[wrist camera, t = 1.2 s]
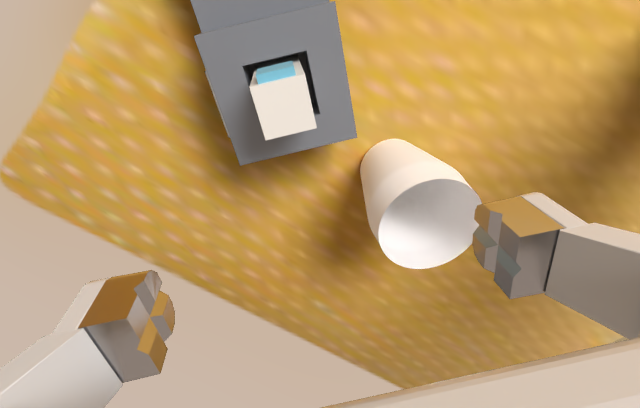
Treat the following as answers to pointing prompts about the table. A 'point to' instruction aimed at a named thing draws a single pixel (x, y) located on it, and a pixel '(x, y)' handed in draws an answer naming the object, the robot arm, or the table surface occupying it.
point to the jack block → (268, 45)
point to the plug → (282, 98)
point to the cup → (417, 205)
